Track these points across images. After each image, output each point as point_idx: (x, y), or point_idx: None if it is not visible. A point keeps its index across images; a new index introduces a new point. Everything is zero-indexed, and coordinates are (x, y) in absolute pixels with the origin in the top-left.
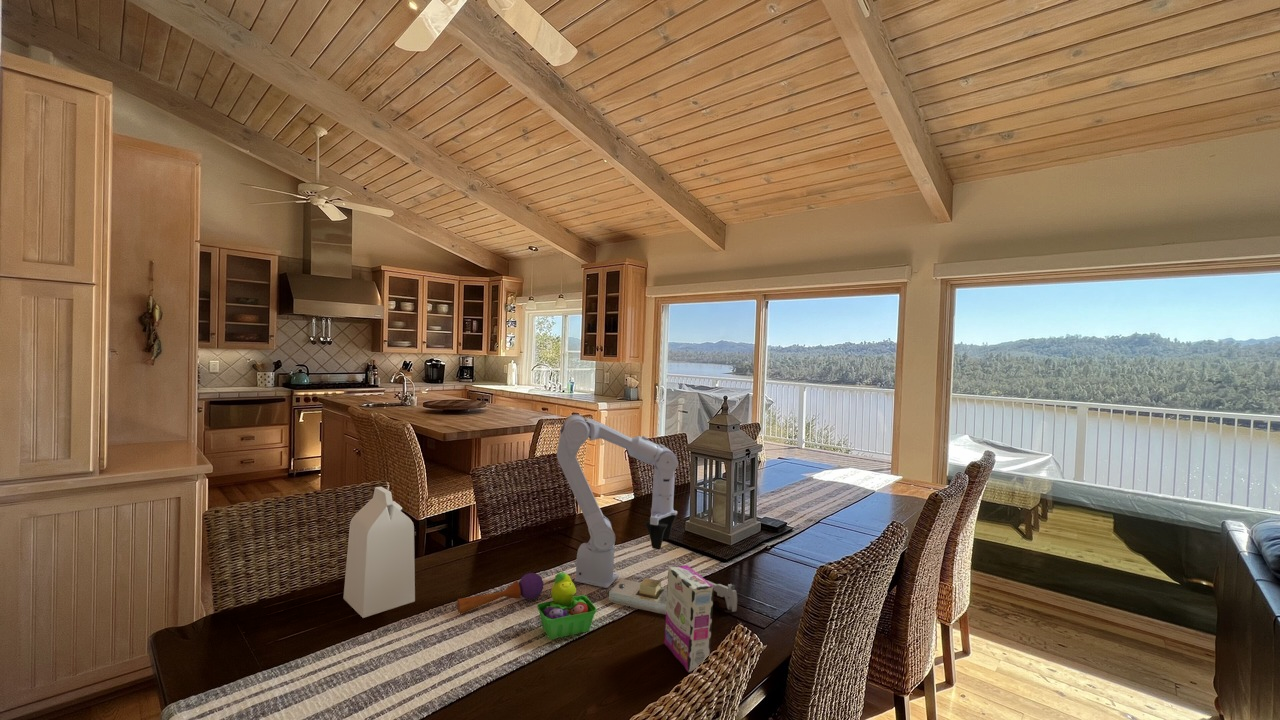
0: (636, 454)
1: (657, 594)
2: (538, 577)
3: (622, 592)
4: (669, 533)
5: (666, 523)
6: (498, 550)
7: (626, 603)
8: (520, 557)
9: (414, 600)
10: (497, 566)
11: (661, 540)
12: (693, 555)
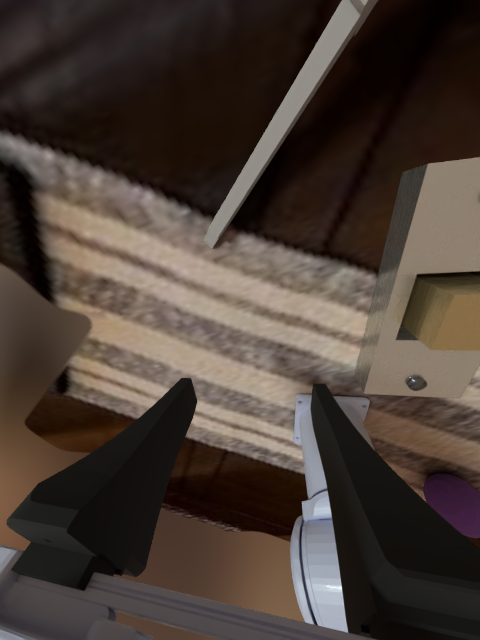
0: None
1: (466, 281)
2: (476, 521)
3: (461, 372)
4: (176, 399)
5: (153, 465)
6: (283, 522)
7: None
8: (291, 505)
9: None
10: None
11: (350, 422)
12: (73, 283)
